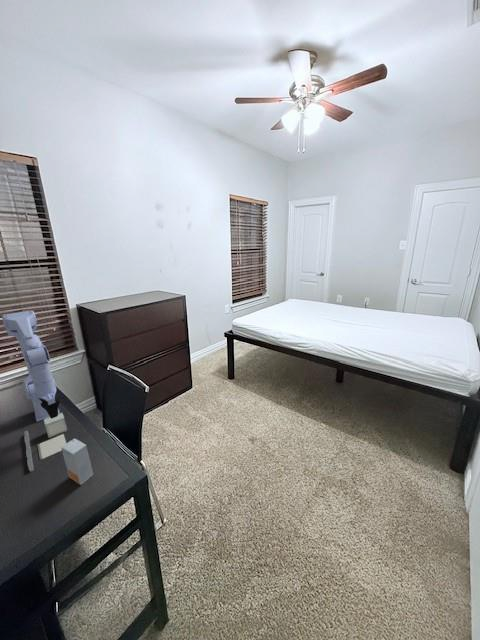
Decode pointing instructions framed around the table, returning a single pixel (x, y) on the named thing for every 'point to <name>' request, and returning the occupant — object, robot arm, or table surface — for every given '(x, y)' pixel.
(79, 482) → the skincare box
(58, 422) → the sage carton
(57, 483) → the table surface
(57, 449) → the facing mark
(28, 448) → the rail
